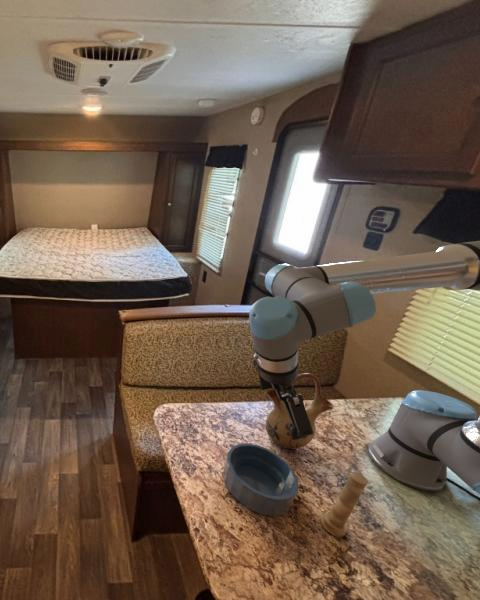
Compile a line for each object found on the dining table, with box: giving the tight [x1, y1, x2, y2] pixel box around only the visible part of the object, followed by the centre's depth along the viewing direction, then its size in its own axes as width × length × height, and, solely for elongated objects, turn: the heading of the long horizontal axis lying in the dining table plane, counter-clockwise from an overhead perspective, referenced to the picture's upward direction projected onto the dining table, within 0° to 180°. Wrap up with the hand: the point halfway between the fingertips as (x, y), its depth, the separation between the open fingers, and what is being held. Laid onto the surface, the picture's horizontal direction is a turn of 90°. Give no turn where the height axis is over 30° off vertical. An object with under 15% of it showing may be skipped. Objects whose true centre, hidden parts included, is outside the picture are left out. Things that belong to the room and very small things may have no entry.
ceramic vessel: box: [265, 372, 335, 450], centre depth 89 cm, size 16×9×25 cm, turn 74°
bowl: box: [222, 442, 300, 517], centre depth 79 cm, size 16×16×6 cm
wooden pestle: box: [320, 471, 368, 538], centre depth 69 cm, size 4×4×16 cm
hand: (281, 410), depth 77 cm, fingers open, 13 cm apart
